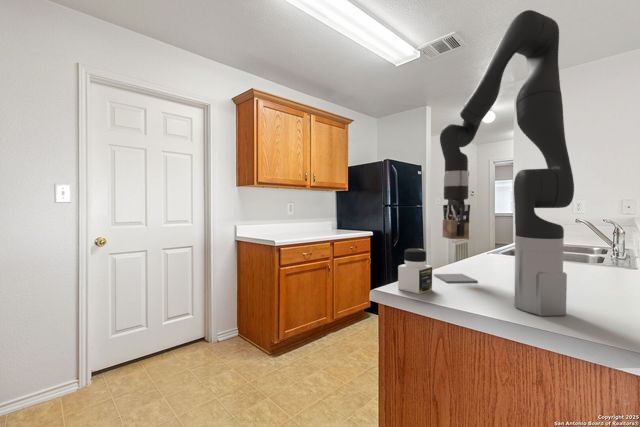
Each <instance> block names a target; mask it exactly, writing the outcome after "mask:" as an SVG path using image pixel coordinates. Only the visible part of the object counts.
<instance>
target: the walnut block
mask: <svg viewBox="0 0 640 427" xmlns="http://www.w3.org/2000/svg"><path fill="white" fill-rule="evenodd" d="M442 238H444V239H450V240H469V239H470V222H469V223H466V225H464V236H460V237H459V236H457V221H456V219H455V220H444V219H442Z"/></svg>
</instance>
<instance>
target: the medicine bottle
mask: <svg viewBox="0 0 640 427" xmlns="http://www.w3.org/2000/svg"><path fill="white" fill-rule="evenodd" d="M397 270H398V271H397V272H398V273H397V275H398V276H397V277H398V278H397V287H398V290H401V291H404V292H409V293H413V294H417V295H421V294H423V293H427V292H430V291H432V290H433V266H432V265H430V264H429V265H428V264H427V251H426V250H424V249H422V248H407V249H405V250H404V264H400V265H398V267H397Z"/></svg>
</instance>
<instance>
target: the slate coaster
mask: <svg viewBox="0 0 640 427" xmlns="http://www.w3.org/2000/svg"><path fill="white" fill-rule="evenodd" d="M433 276H434V277H436V278H437V279H439V280H441V281H443V282H444V283H447V284H468V283H469V284H470V283H473V284H474V283H475V284H476V283H477V284H478V283H479V281H478V280H477V279H475V278H472V277H470V276H468V275H465V274H463V273H434V274H433Z"/></svg>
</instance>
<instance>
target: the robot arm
mask: <svg viewBox="0 0 640 427" xmlns="http://www.w3.org/2000/svg"><path fill="white" fill-rule="evenodd" d="M559 27H560V26H559V25H558V23H557V21H556V20H555V19H553V18H552V17H550V16H547V15H545V14H542V13H540V12H537V11H535V10H531V9H527V10H524V11H522V12H520V13H519V14H518V15H517V16H516V17H514V18H513V20H511V23H510V24H509V25H508V26H507V28H506V30H505V31H504V33H503V35H502V37H501V39H500V41H499V43H498V45H497V47H496V48H495V51H494V53H493V54H492V57H491V59H490V61H489V63H488V64H487V67H486V68H485V71H484V73H483V75H482V77H481V78H480V80H479V82H478V84H477V86H476V87H475V89H474V90H473V92H472V93H471V95H470V96H469V98H468V99H467V101H466V102H465V104H464V105H463V107H462V108H461V109H460V112H459V116H460V117H461V119H462V120H463V122H462V123H461V125H460V124H446V125H445V126H444V127H443V128H442V130H441V132H440V135H439V144H440V147H441V151H442V156H443V159H444V176H443V199H444V200H447V204H443V205H442V210H443V220H456V221H457V236H459V237H460V236H464V225H466V223H469V224H470V214H471V213H470V211H471V204H465V200H468V199H469V173H468V172H469V170H468V168H469V164H468V163H469V159H468V156H467V155H466V153H463V152H462V151H461V149H460V148H465V147H466V146H468V145H469V144H471V142H472V141H473V140H474V139H475V136H476V134H477V132H478V130H479V129H480V128H479V127H480V125H481V122H482V121H483V119H484V118H485V116H486V115H487V114H488V113H489V111H490V110H491V108H492V107H493V106H494V105H495V103H496V101H497V99H498V97H499V95H500V94H499V93H500V90H501V84H502V80H503V75H504V72H505V70H506V67H507V66H508V65H509V63H510V61H511V59H512V58H513V57H514V56H515V54H519V55H521V56H524V58H525V59H526V62H527V72H528V74H527V78H526V80H525V81H524V83H523V85H522V86H521V88H520V90H519V91H518V94H517V95H516V96H517V97H516V100H515V101H516V102H515V111H516V112H515V113H516V122H517V125H518V127H519V129H520V131H521V132H522V134H524V135H525V136H526V137H527V138H528V139H529V140H530V141H531V142H532V143H533V144H534V145H535V147H537V149H538V150H539V151H540V153H541V154H542V156H543V157H544V161H545V163H546V167H547V168H533V169H532V168H531V169H530V168H529V169H527V168H526V169H521V170H520V171H517V173H516V175H515V178H514V181H513V182H514V183H513V196H514V197H513V200H514V224H515V225H514V228H515V230H514V231H515V232H514V233H515V237H514V239H515V240H514V246H515V247H514V307H515V308H516V309H518V310H520V311H523V312H526V313H531V314H535V315H537V316H540V317H541V316H546V317H547V316H548V317H549V316H550V317H551V316H567V288H568V287H567V285H568V284H567V282H568V280H567V279H568V276H567V275H568V274H567V273H566V272H564V242H565V241H564V236H565V233H564V232H565V230H564V229H565V228H564V227H563V226H562V225H561V224H558V223H554V222H551V221H548V220H546V219H545V218H544V219H543V218H541V217H540V216H538V215H537V214H536V212H535V209H561V208H566V207H568V206H570V205H571V203H572V202H573V199H574V194H575V183H574V175H573V170H572V165H571V161H570V157H569V152H568V146H567V141H566V133H565V124H564V123H565V122H564V106H563V97H562V91H561V79H560V68H559V46H560V28H559Z"/></svg>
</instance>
